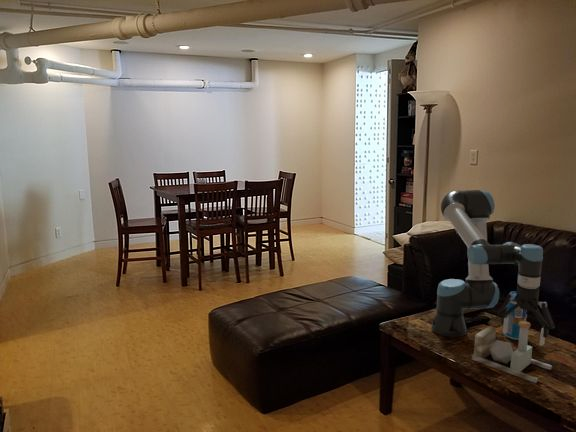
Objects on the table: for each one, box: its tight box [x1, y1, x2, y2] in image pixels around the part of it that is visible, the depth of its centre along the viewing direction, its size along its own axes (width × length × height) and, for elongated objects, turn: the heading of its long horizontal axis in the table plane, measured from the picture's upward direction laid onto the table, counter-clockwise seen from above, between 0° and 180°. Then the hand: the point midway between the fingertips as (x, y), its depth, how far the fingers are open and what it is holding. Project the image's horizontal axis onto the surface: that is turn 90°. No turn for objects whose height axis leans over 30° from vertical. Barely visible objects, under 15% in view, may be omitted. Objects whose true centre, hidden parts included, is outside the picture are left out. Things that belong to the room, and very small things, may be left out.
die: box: [490, 339, 514, 365], centre depth 187 cm, size 8×9×10 cm
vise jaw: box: [509, 320, 533, 372], centre depth 181 cm, size 4×12×18 cm, turn 132°
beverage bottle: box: [504, 290, 528, 341], centre depth 208 cm, size 8×8×20 cm
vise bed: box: [471, 326, 553, 384], centre depth 184 cm, size 24×15×10 cm, turn 42°
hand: (523, 338), depth 180 cm, fingers open, 13 cm apart
